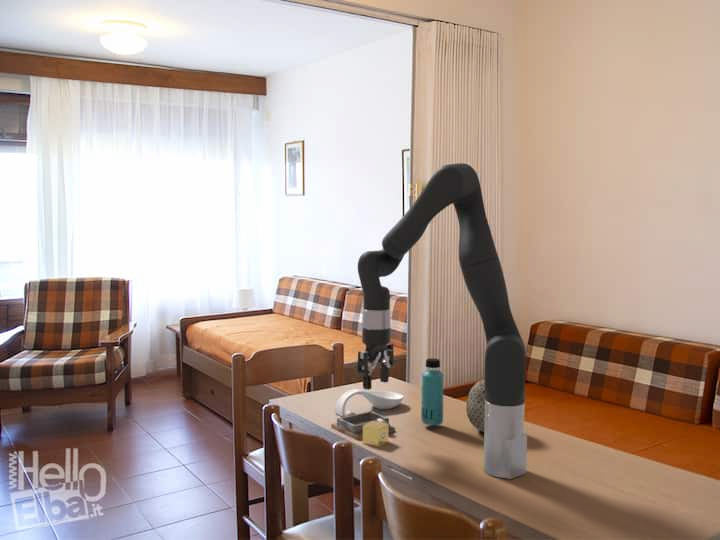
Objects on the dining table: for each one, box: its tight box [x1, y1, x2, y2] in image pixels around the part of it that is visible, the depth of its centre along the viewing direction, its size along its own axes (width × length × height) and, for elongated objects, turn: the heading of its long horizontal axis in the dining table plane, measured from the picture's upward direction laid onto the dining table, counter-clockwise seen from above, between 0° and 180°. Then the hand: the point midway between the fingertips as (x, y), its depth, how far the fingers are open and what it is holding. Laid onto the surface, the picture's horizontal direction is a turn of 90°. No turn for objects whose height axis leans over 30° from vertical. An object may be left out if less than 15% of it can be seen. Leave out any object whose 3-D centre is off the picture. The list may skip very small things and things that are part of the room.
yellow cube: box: [362, 421, 389, 448], centre depth 178 cm, size 5×5×5 cm
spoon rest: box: [334, 388, 404, 418], centre depth 207 cm, size 24×12×7 cm, turn 125°
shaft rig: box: [330, 410, 396, 441], centre depth 188 cm, size 15×13×4 cm
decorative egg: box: [465, 378, 485, 433], centre depth 186 cm, size 12×12×15 cm
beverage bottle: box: [420, 357, 445, 426], centre depth 190 cm, size 6×7×20 cm
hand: (375, 385), depth 177 cm, fingers open, 8 cm apart
